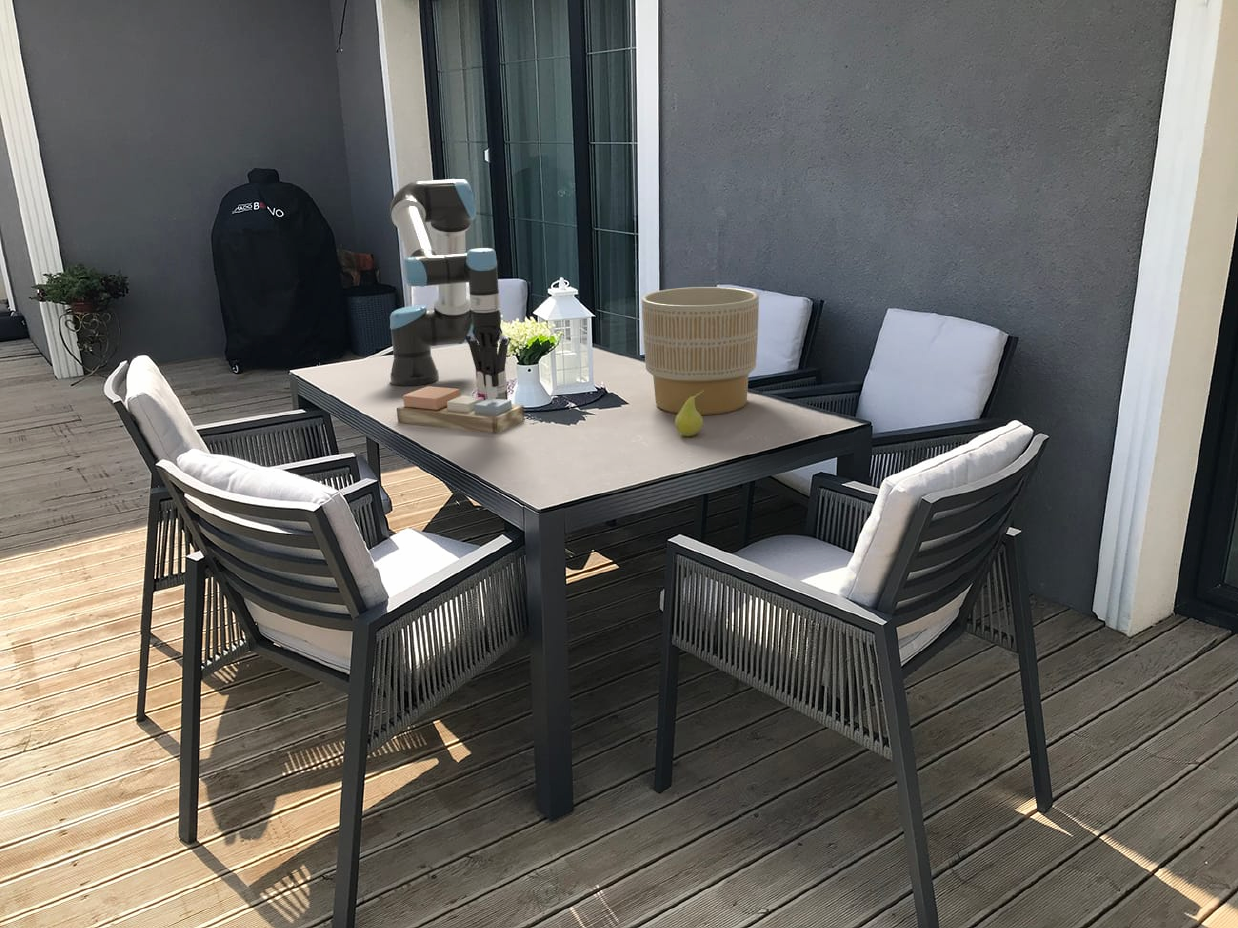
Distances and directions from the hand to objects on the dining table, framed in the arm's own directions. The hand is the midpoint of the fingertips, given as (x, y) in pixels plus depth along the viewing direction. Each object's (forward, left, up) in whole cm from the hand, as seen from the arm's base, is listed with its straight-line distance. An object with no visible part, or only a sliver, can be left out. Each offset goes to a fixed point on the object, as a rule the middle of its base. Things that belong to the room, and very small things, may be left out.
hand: (492, 398), depth 265 cm
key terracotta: (0, -20, -5) cm, 20 cm away
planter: (-38, +44, -8) cm, 59 cm away
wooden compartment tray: (0, -11, -7) cm, 13 cm away
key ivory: (0, -9, -6) cm, 10 cm away
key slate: (0, 0, -6) cm, 6 cm away
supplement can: (-13, -9, -8) cm, 17 cm away
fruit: (-9, +53, -8) cm, 54 cm away
